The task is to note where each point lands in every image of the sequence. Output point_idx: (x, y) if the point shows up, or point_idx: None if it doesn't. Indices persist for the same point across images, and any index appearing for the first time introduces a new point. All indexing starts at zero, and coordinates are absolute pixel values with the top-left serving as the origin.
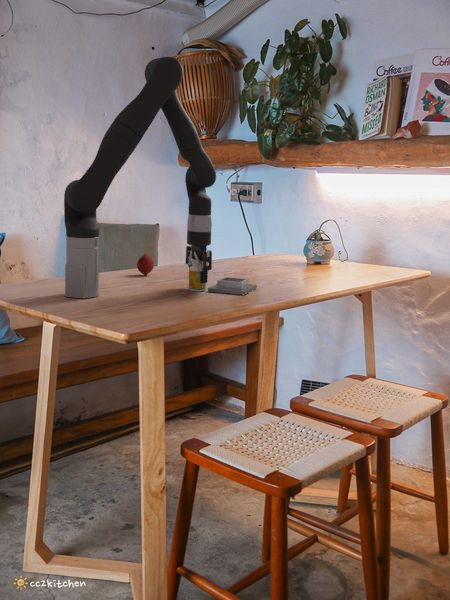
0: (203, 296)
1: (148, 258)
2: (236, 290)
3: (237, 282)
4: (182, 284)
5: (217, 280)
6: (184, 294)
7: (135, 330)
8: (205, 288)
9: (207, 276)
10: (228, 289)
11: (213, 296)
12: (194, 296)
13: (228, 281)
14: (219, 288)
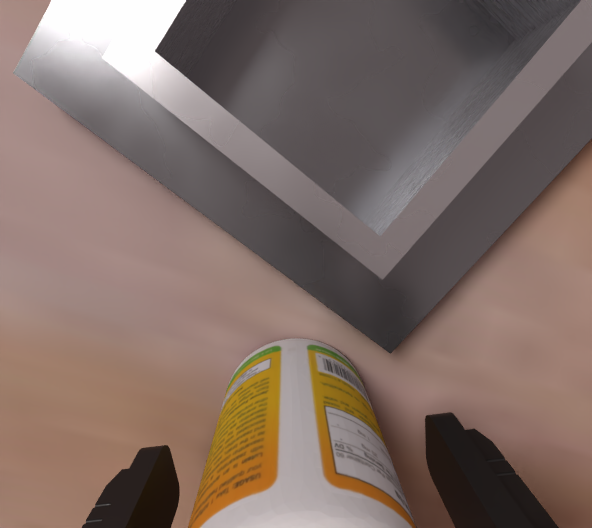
0: (541, 418)
1: None
2: (582, 119)
3: (582, 51)
4: (23, 431)
5: (385, 276)
6: (436, 510)
7: None
8: (326, 349)
9: (489, 464)
10: (507, 186)
11: (566, 352)
12: (521, 471)
13: (485, 159)
14: (433, 257)
